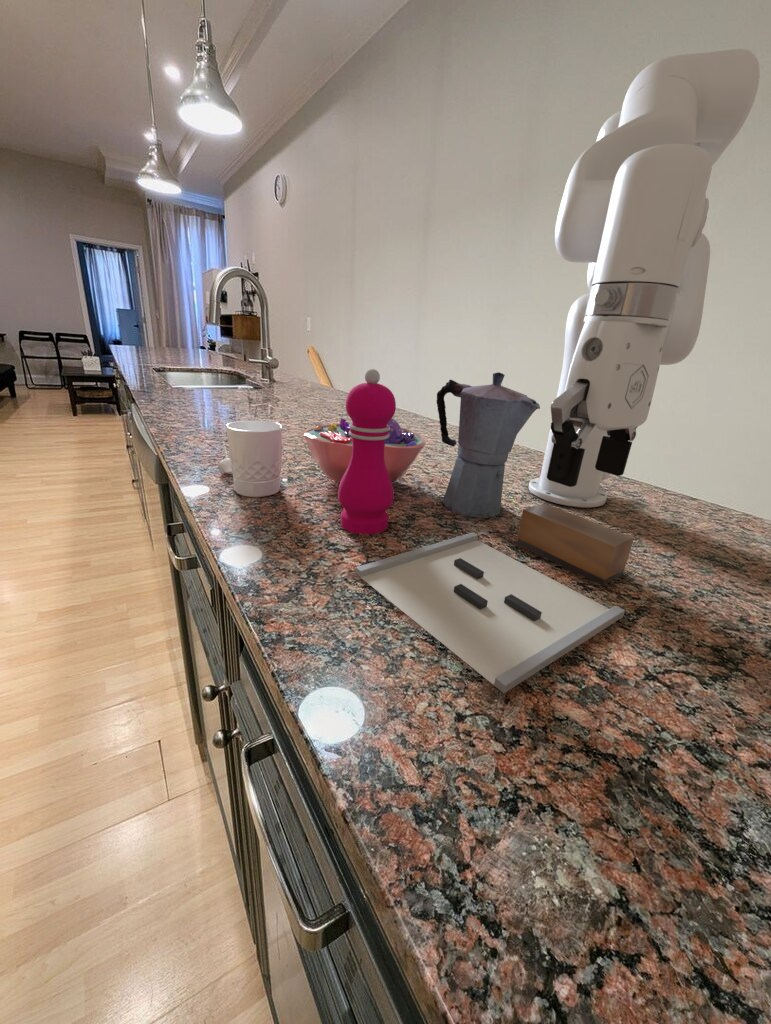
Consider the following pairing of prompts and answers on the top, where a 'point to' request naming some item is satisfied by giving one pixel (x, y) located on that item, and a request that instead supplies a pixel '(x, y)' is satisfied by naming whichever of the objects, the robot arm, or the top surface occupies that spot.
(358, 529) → the pepper mill
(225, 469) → the macaroon
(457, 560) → the stroke
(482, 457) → the moka pot
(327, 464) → the cell model
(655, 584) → the top surface
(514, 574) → the memo board
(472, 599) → the stroke
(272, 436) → the white cup
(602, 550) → the eraser
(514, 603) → the stroke
